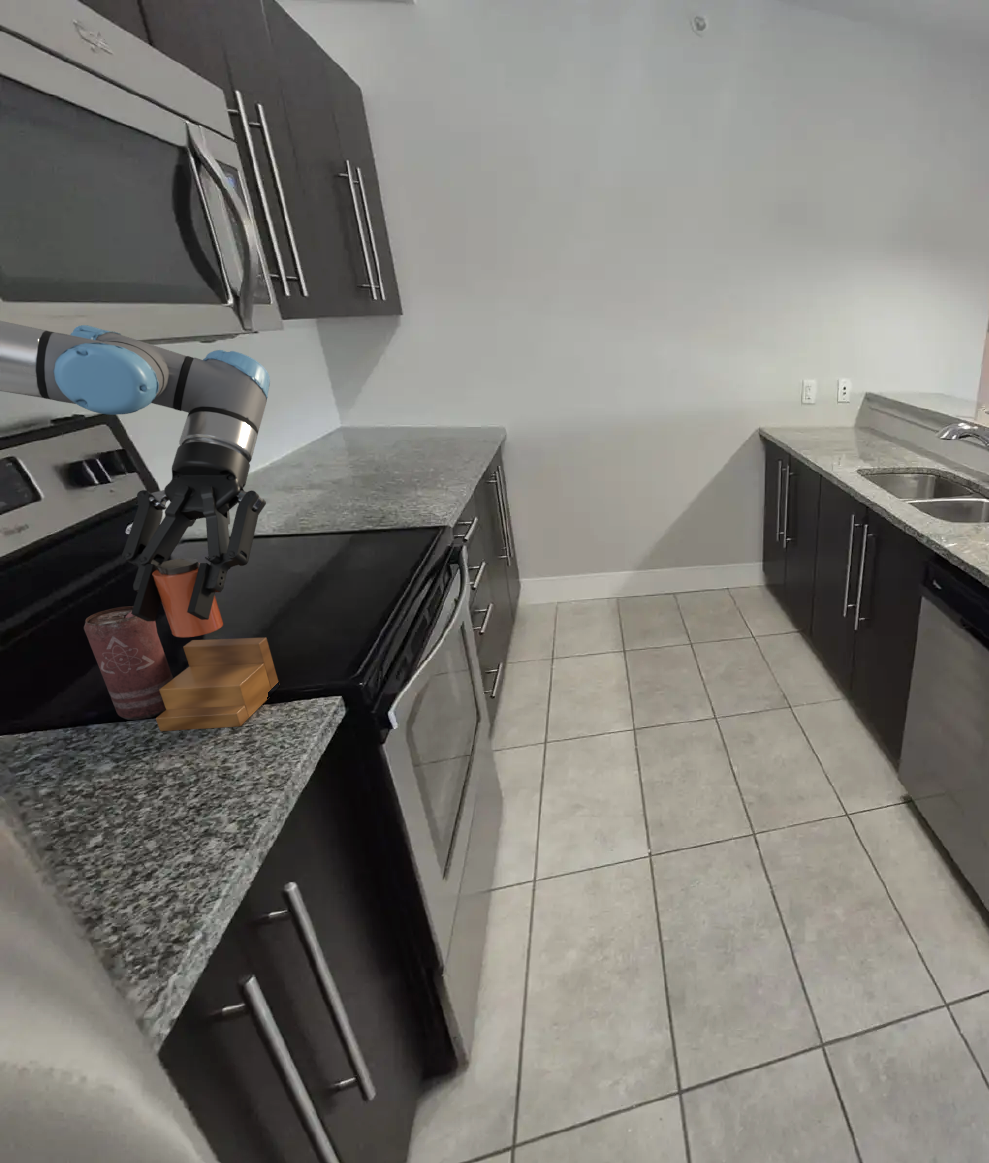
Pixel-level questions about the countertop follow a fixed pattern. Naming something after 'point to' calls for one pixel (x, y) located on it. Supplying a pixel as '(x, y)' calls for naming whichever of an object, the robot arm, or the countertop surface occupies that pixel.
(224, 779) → the countertop surface
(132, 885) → the countertop surface
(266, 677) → the wooden stair steps
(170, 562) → the spice jar
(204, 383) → the robot arm
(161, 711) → the can
